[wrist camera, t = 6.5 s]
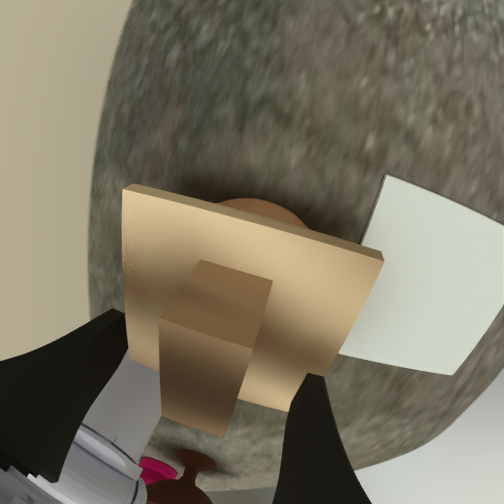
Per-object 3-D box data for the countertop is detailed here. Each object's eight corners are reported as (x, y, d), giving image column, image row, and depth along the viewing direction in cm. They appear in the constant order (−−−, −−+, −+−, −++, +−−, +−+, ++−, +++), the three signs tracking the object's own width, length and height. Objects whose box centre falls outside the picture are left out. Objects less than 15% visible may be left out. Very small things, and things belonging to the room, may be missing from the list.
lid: (301, 403, 15) (291, 470, 12) (136, 350, 16) (99, 404, 12) (380, 251, 11) (406, 328, 7) (133, 183, 11) (59, 224, 8)
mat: (451, 371, 18) (452, 375, 18) (315, 343, 19) (315, 347, 19) (532, 241, 12) (535, 243, 12) (385, 173, 13) (386, 175, 13)
